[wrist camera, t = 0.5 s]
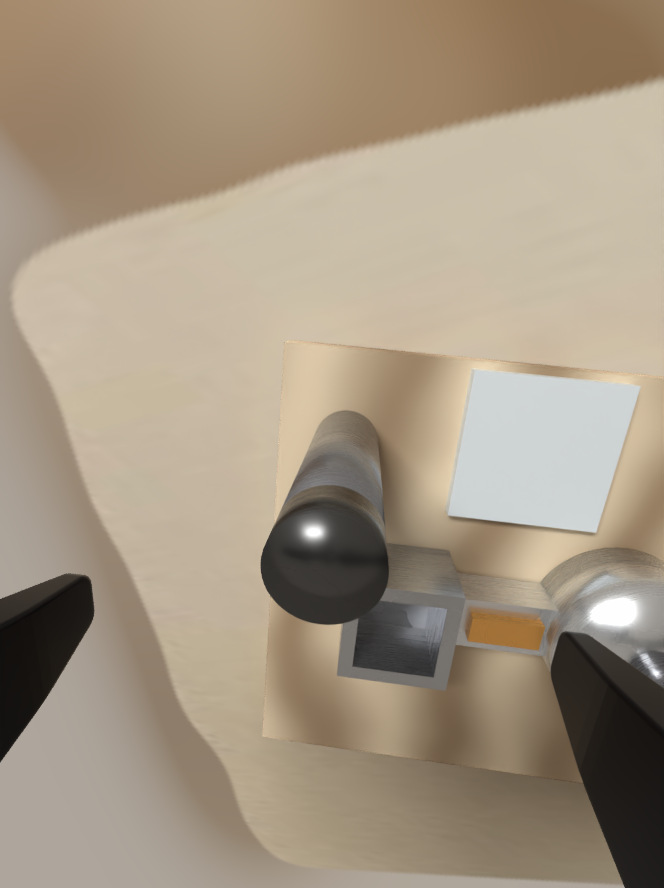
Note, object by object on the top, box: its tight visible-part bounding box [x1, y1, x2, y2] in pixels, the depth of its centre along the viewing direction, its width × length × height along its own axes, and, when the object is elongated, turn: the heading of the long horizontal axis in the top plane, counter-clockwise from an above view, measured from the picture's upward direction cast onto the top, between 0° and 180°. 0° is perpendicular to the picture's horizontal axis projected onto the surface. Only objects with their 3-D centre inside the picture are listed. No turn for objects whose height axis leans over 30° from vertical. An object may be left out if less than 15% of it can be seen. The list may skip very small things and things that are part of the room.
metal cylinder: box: [261, 410, 389, 625], centre depth 14 cm, size 3×3×10 cm
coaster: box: [445, 368, 641, 533], centre depth 18 cm, size 6×6×1 cm
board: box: [262, 340, 664, 783], centre depth 21 cm, size 20×22×2 cm
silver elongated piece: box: [337, 543, 664, 691], centre depth 17 cm, size 16×7×6 cm, turn 85°
